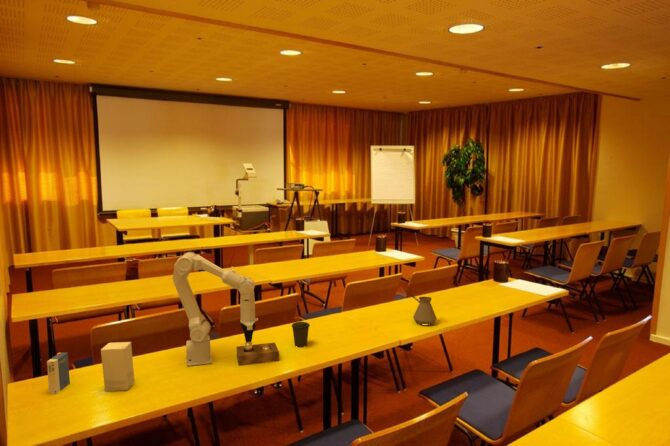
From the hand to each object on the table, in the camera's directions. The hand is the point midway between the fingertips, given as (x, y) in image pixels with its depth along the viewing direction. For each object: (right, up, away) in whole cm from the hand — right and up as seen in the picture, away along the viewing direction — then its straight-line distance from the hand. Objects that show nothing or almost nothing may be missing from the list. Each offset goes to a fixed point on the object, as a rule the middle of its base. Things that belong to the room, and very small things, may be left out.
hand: (248, 341), depth 183 cm
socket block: (+3, -7, +2) cm, 8 cm away
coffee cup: (+20, -6, +16) cm, 26 cm away
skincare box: (-42, -11, -23) cm, 48 cm away
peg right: (+7, -7, +3) cm, 10 cm away
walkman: (-62, -11, -23) cm, 67 cm away
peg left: (0, -5, +1) cm, 5 cm away
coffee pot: (+77, -2, +48) cm, 91 cm away
